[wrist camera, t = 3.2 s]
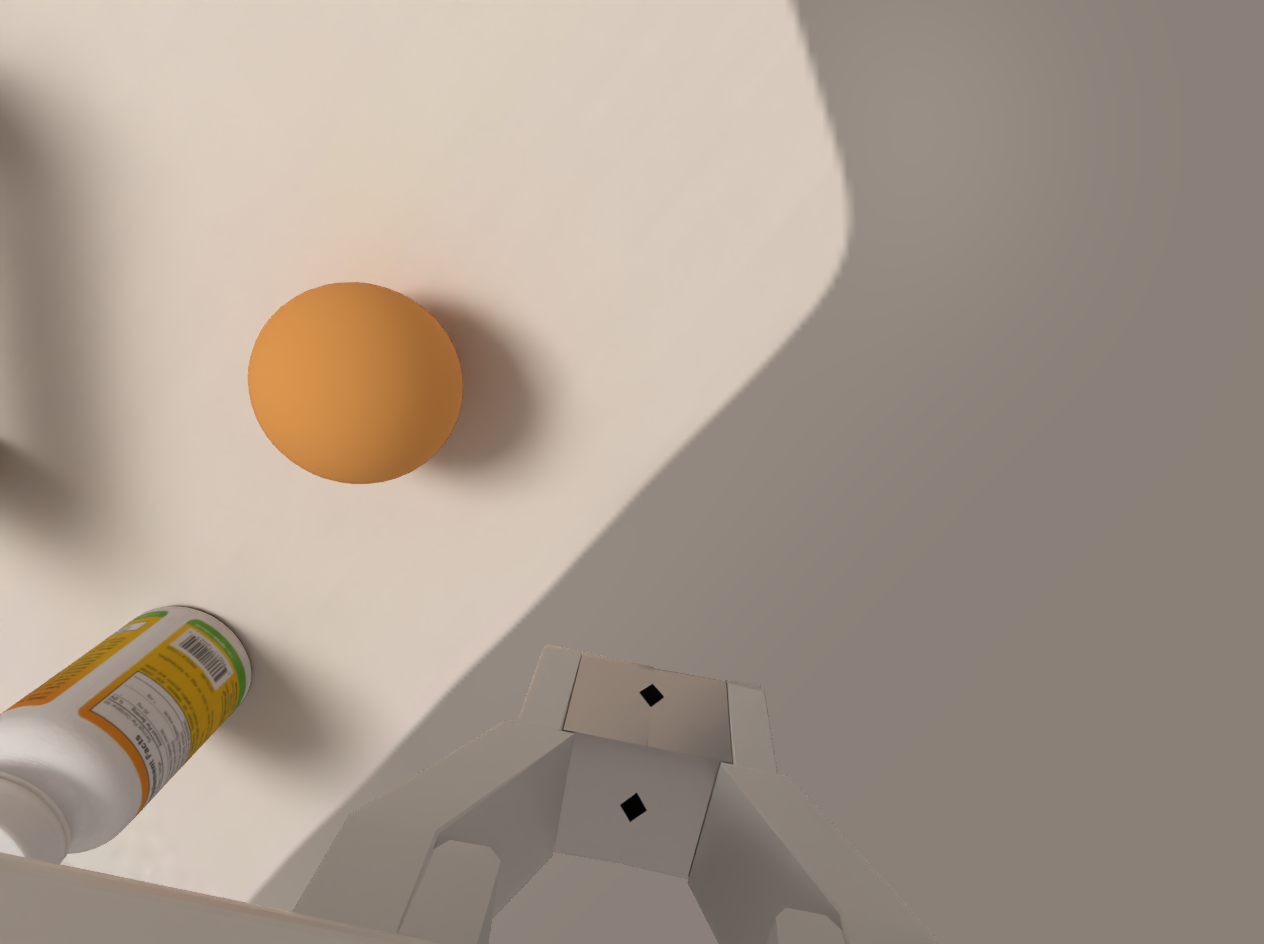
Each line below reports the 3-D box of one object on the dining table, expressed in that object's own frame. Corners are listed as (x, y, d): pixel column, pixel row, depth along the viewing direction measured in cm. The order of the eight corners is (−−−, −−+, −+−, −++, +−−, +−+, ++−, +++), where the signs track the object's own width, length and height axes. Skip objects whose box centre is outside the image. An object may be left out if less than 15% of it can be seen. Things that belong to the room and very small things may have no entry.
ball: (316, 259, 23) (193, 271, 17) (494, 293, 23) (430, 316, 17) (313, 431, 25) (203, 492, 19) (477, 463, 25) (414, 533, 19)
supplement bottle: (129, 693, 30) (-119, 901, 21) (130, 586, 28) (-143, 763, 19) (251, 726, 30) (58, 947, 21) (260, 621, 28) (51, 815, 19)
